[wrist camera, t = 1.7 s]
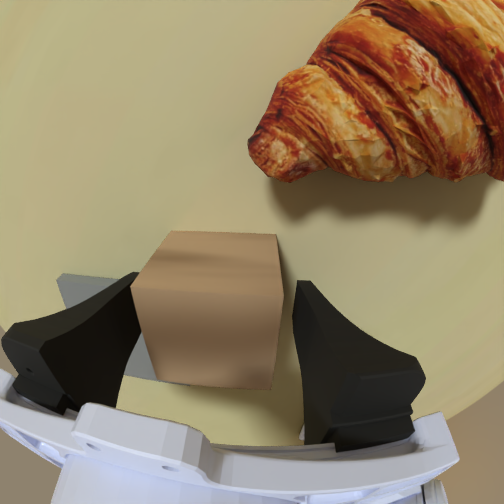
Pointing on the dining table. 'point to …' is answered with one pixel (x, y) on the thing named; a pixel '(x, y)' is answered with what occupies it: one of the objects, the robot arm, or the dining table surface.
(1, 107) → the dining table surface
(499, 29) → the croissant
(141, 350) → the slate coaster
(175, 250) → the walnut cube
